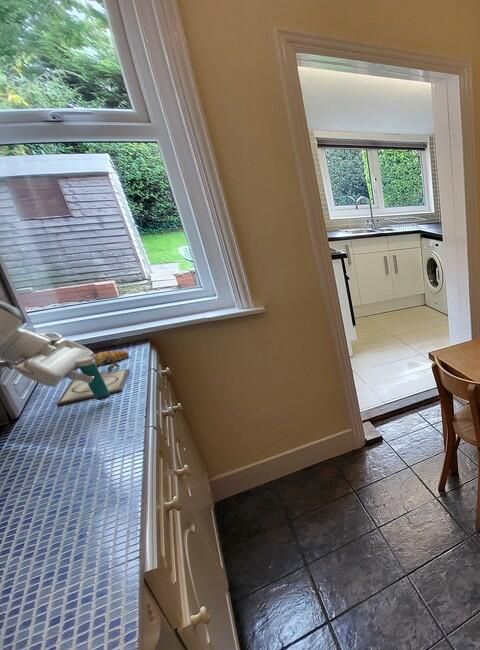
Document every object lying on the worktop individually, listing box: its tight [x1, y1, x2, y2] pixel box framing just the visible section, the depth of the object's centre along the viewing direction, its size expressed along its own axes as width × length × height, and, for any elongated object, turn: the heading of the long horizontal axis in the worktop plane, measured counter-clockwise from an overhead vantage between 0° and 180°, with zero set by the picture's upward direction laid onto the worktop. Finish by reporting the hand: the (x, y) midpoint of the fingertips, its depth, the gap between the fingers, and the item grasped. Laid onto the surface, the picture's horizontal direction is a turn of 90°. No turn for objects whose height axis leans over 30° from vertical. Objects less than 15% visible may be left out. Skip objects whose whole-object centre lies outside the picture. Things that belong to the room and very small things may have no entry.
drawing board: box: [56, 368, 130, 407], centre depth 128 cm, size 14×20×1 cm
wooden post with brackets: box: [96, 356, 120, 371], centre depth 140 cm, size 2×8×4 cm, turn 107°
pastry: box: [91, 350, 130, 365], centre depth 147 cm, size 9×7×4 cm
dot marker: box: [76, 356, 111, 401], centre depth 114 cm, size 3×3×12 cm
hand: (96, 377), depth 114 cm, fingers closed on dot marker, 3 cm apart
